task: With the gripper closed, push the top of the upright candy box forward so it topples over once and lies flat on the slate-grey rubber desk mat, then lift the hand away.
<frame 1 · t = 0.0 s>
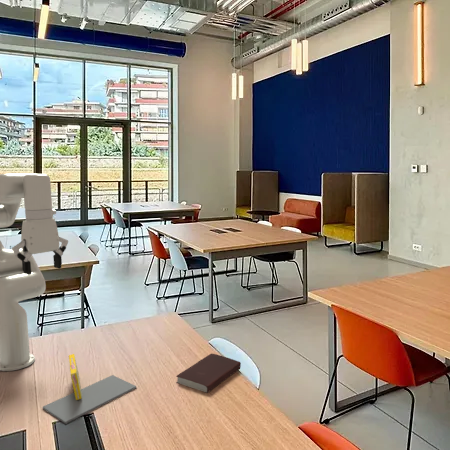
hand: (43, 270, 133), 37 cm above the table, tool pointing down, fingers open, 9 cm apart
mat: (91, 397, 129), on the table
candy box: (77, 389, 133), resting on mat
book: (209, 377, 142), on the table
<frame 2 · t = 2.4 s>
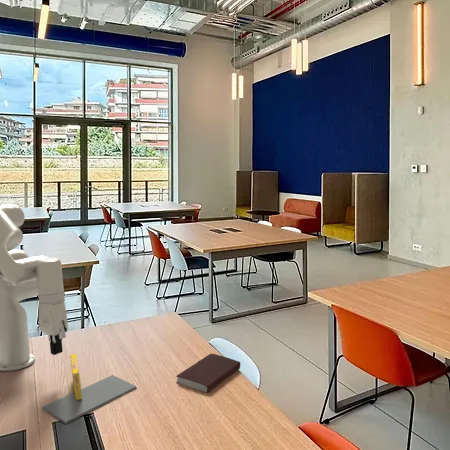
hand: (56, 352, 139), 9 cm above the table, tool pointing down, fingers closed
nothing on the table moved.
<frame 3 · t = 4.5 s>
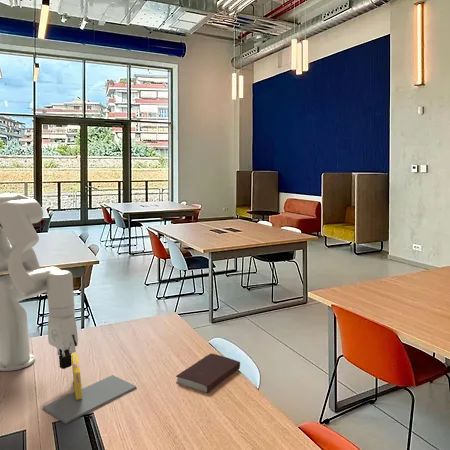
hand: (65, 366, 136), 6 cm above the table, tool pointing down, fingers closed
candy box: (77, 389, 133), resting on mat, touching gripper
everything else where it was.
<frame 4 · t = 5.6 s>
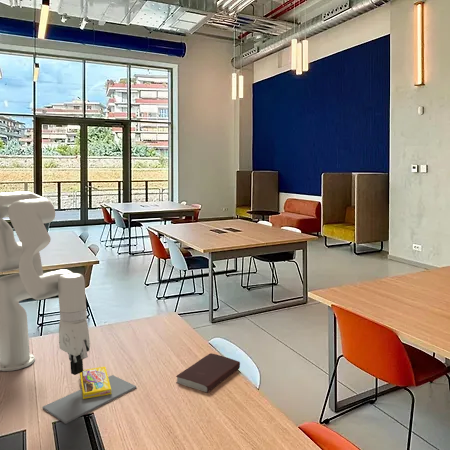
hand: (77, 372, 132), 6 cm above the table, tool pointing down, fingers closed
candy box: (80, 383, 133), point 2 cm above the table, touching mat
everything else where it was.
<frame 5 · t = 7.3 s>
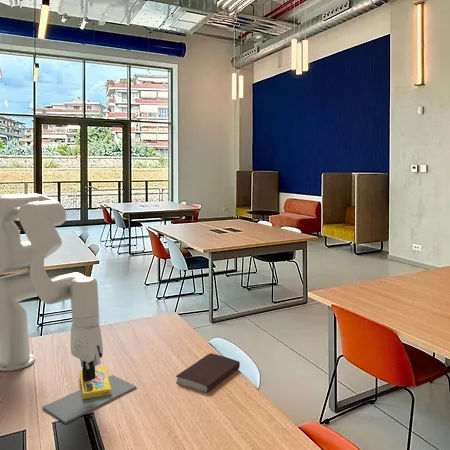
hand: (89, 379, 128), 6 cm above the table, tool pointing down, fingers closed
nothing on the table moved.
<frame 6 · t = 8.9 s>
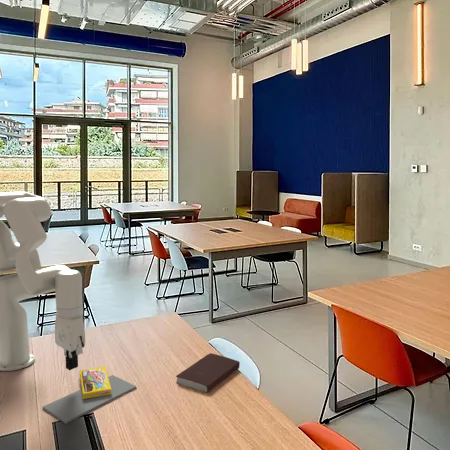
hand: (72, 367, 134), 7 cm above the table, tool pointing down, fingers closed
nothing on the table moved.
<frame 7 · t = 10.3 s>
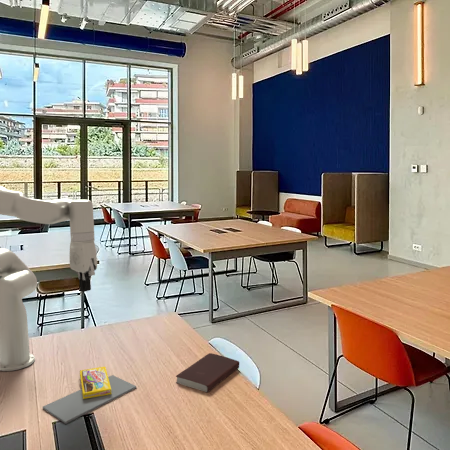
hand: (85, 290, 146), 27 cm above the table, tool pointing down, fingers closed
nothing on the table moved.
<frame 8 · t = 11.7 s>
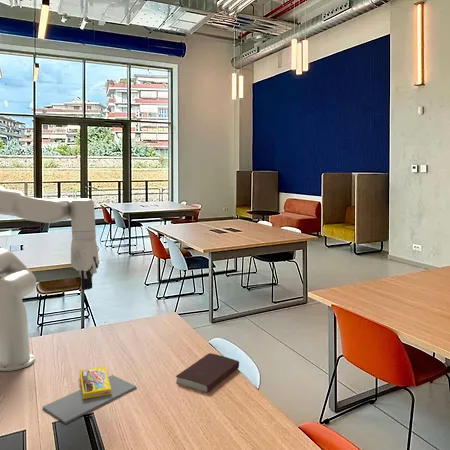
hand: (87, 288, 147), 27 cm above the table, tool pointing down, fingers closed
nothing on the table moved.
at the end: candy box tilted 93°; candy box touching mat; candy box inside the target area (1.7 cm from its centre), point 1.9 cm above the table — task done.
